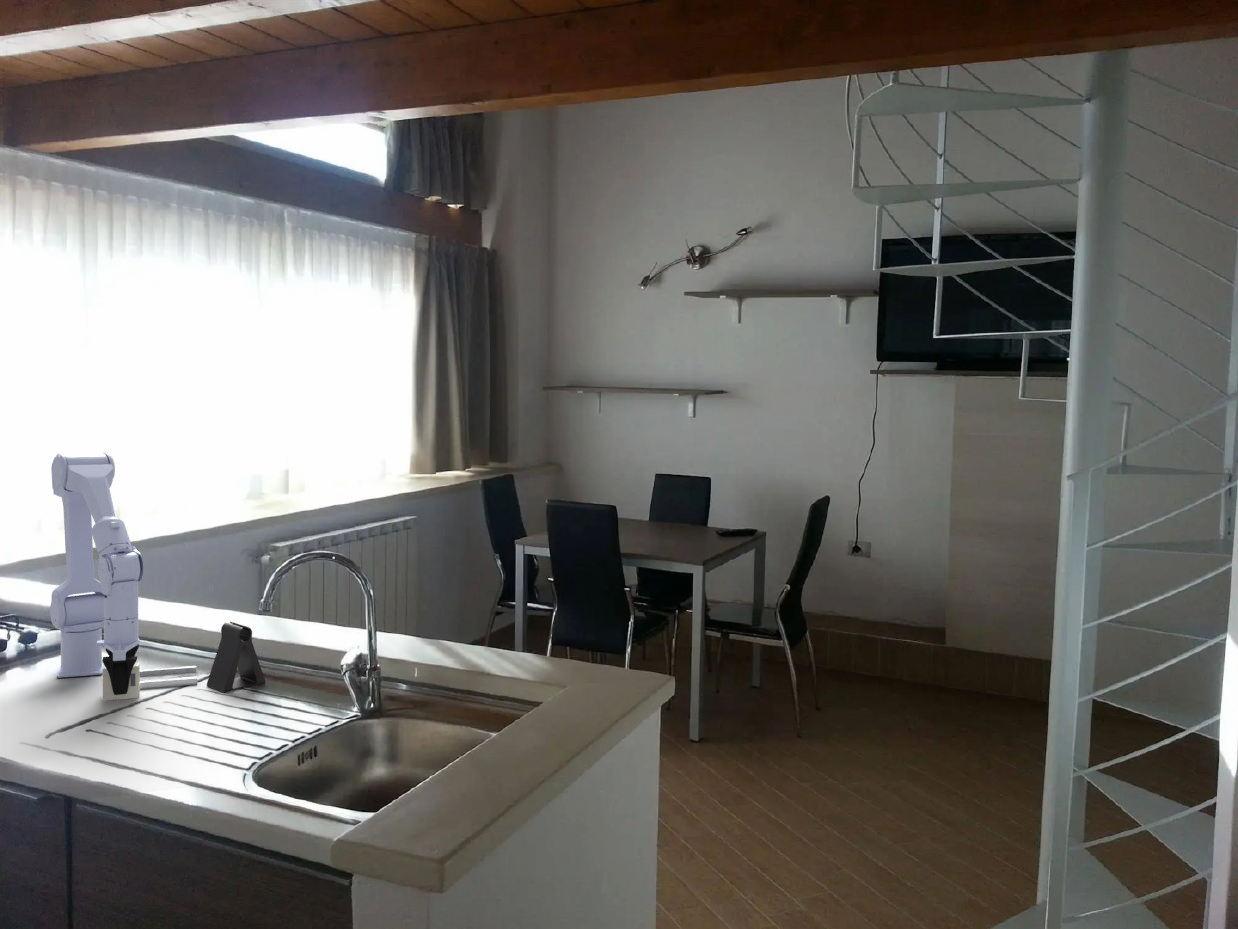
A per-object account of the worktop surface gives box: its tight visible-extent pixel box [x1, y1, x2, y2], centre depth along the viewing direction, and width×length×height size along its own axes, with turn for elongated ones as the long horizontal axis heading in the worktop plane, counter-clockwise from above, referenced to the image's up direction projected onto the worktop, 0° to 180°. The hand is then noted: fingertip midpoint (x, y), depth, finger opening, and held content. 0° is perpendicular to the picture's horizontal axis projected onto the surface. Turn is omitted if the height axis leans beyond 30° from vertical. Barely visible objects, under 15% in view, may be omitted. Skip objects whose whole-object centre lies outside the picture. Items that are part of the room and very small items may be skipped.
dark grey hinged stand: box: [206, 621, 266, 694], centre depth 191 cm, size 9×6×12 cm, turn 143°
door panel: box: [101, 660, 141, 702], centre depth 182 cm, size 3×6×6 cm, turn 114°
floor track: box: [140, 665, 198, 690], centre depth 191 cm, size 9×16×1 cm, turn 114°
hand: (121, 688), depth 182 cm, fingers open, 6 cm apart
